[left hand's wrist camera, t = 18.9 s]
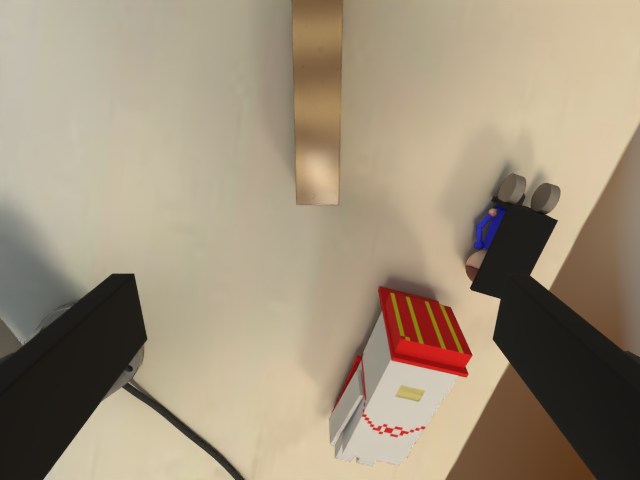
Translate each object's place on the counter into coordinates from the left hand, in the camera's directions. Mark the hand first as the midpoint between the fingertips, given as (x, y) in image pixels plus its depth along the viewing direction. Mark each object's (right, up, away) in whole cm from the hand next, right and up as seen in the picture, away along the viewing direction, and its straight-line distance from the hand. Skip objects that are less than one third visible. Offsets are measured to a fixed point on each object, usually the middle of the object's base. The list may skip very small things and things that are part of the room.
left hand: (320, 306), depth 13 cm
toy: (+10, -18, +44) cm, 49 cm away
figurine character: (+24, +4, +36) cm, 43 cm away
